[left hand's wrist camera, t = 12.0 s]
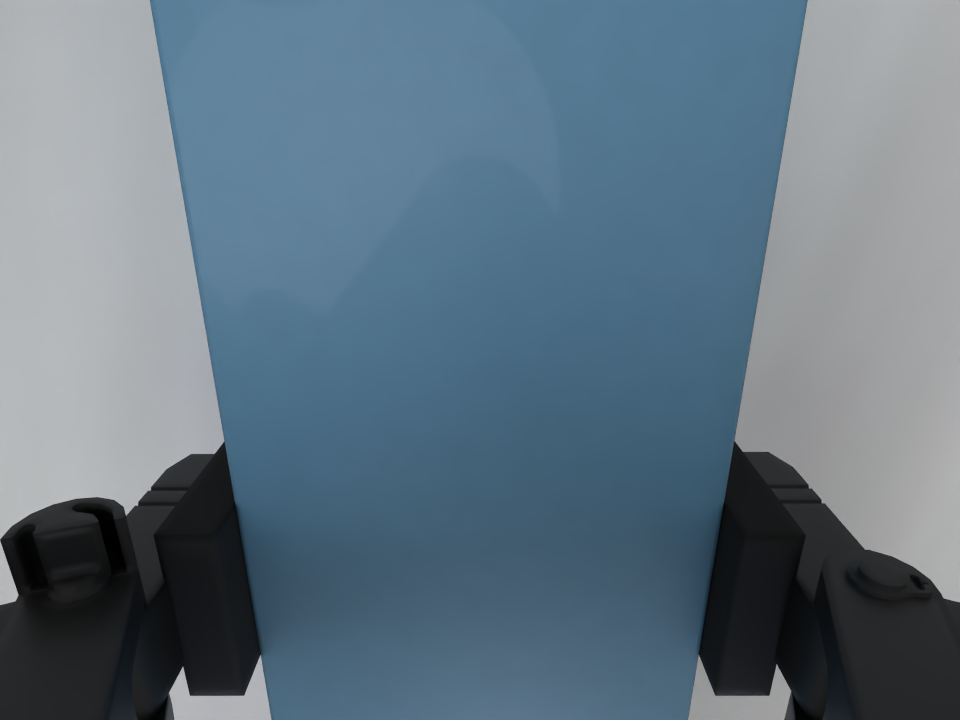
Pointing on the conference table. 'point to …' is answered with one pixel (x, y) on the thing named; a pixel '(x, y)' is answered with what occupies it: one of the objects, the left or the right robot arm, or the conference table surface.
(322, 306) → the blue box
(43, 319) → the conference table surface
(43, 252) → the conference table surface
